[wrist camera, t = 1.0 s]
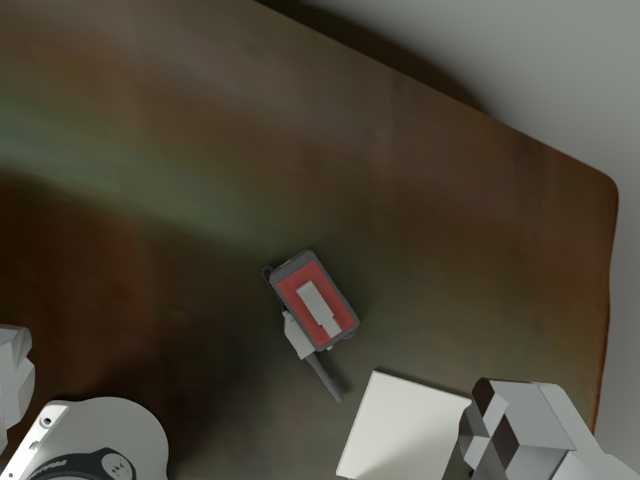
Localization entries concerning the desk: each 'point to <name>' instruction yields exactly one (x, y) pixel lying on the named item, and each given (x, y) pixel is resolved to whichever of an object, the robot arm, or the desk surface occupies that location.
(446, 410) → the mat
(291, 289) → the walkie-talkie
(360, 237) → the desk surface
